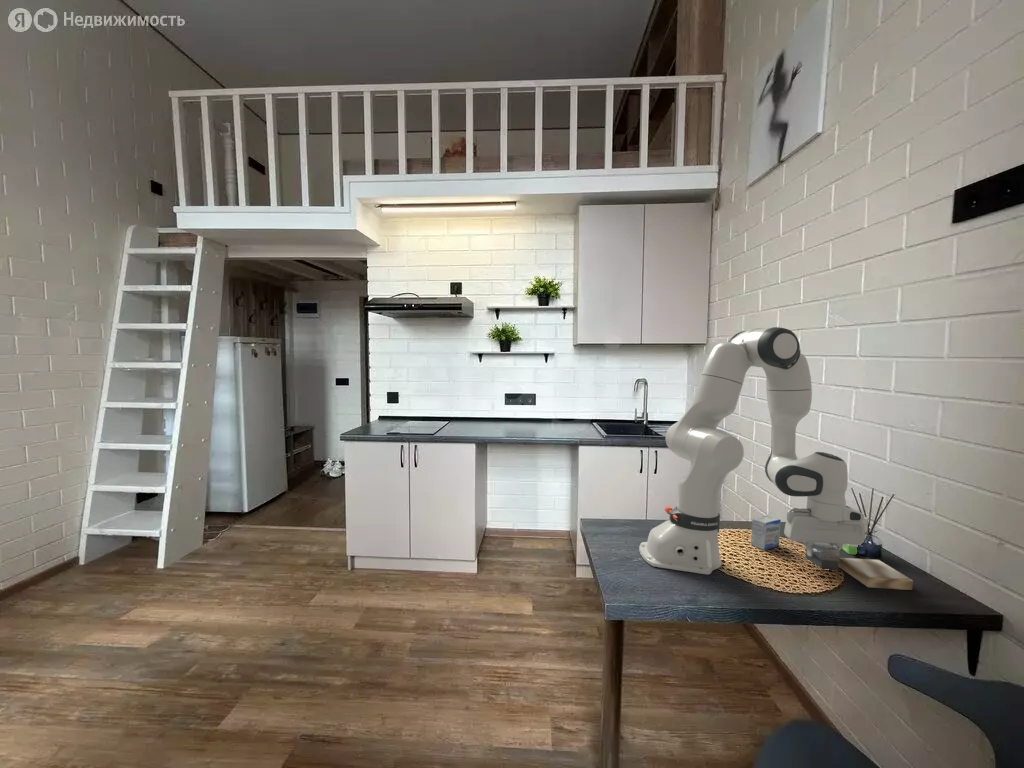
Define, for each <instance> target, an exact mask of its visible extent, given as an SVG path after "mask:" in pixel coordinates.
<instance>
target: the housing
mask: <svg viewBox="0 0 1024 768" xmlns="http://www.w3.org/2000/svg"><path fill="white" fill-rule="evenodd" d="M810 546H811V545H810ZM833 546H834V545H832V544H831V543H817V542H813V545H812V546H811V548H812V549H813V550H815V551H816V554H815V555H816V556H815V557H809V556H808V555H807V548H806V547H805V557H806V558H807V559H808V560H810V561H811V562H813V563H814V564H816V565H817V566H819V567H820V568H822V569H829V570H838V571H839V567H838V563H839V558H840V552H841V550H838V549H836V548H835V547H833ZM806 558H805V559H806ZM807 559H806V560H807ZM808 560H807V561H808ZM810 561H809V562H810ZM811 562H810V563H811Z"/></svg>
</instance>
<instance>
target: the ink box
mask: <svg viewBox="0 0 1024 768" xmlns="http://www.w3.org/2000/svg"><path fill="white" fill-rule="evenodd" d="M862 522H863V523H864V526H865V538H866V536H867V537H868V527H869V526H868V525H869V518H868V517H866V516H864V520H863V521H862ZM857 547H858V545H855V544H843V547H842V549H841V550H842V551H844V552H845V553H847V554H849V555H855V556H857V555H856V554H857Z"/></svg>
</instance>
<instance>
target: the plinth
mask: <svg viewBox="0 0 1024 768" xmlns="http://www.w3.org/2000/svg"><path fill="white" fill-rule="evenodd" d="M838 568H840V569H842V570H843V571H844V572H845V573H847V574H848V575H850V576H851V577H852V578H854V579H855V580H857V581H859V583H861V584H863V585H864V586H866V588H873V589H874V588H875V589H887V590H888V589H892V590H907V591H908V590H909V591H912V590H913V586H914V580H913V579H911V578H909V577H908V576H906V575H905V574H903V573H901V572H900V571H898V570H896V569H895V568H893V567H892V566H889V564H886V563H885V562H883V561H881V560H880V559H869V558H851V557H839V563H838Z"/></svg>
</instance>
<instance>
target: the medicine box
mask: <svg viewBox="0 0 1024 768" xmlns="http://www.w3.org/2000/svg"><path fill="white" fill-rule="evenodd" d="M751 520H752V521H751V535H750V536H751V537H750V545H751V546H752V547H756V548H758V549H760V550H762V551H766V550H769V549H772V548H775V547H779V546H780V533H781V532H780V531H781V520H782V519H779V518H777V517H774V516H771V515H764V516H759V517H756V518H752V519H751Z"/></svg>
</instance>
